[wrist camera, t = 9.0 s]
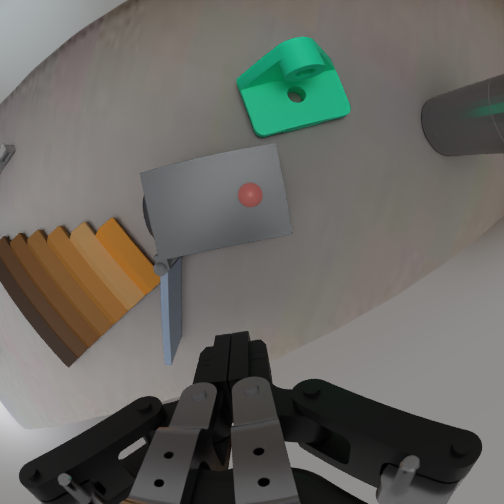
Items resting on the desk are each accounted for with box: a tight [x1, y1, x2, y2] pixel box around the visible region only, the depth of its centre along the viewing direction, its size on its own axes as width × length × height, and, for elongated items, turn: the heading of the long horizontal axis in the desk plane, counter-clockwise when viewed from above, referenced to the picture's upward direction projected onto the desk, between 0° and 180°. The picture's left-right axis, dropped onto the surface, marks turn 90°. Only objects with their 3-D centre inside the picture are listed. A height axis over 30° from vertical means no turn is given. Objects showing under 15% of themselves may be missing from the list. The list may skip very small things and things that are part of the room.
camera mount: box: [237, 37, 351, 137], centre depth 27 cm, size 12×8×10 cm, turn 108°
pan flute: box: [0, 217, 161, 367], centre depth 33 cm, size 25×3×25 cm
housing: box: [140, 143, 293, 276], centre depth 29 cm, size 13×10×11 cm
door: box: [160, 256, 182, 365], centre depth 32 cm, size 12×2×7 cm, turn 175°
